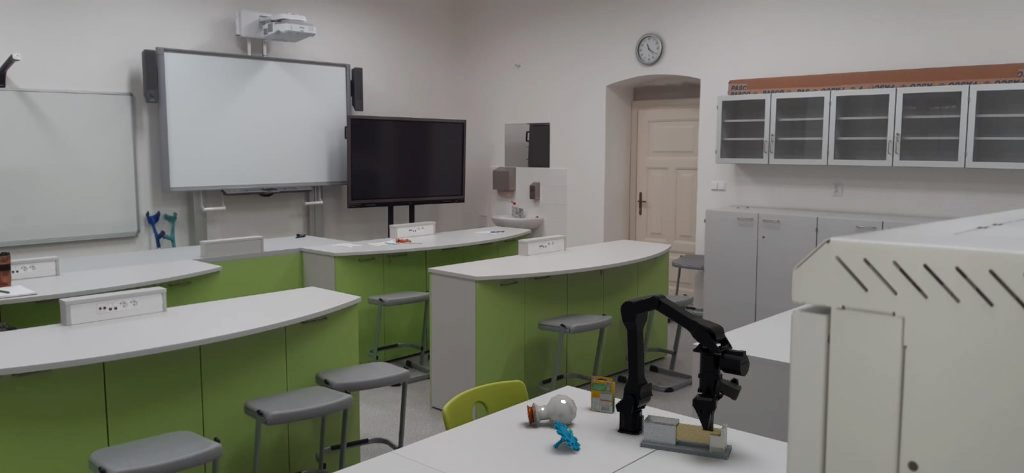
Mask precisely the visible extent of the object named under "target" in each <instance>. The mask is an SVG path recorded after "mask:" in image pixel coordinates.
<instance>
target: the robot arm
mask: <svg viewBox="0 0 1024 473" xmlns="http://www.w3.org/2000/svg"><path fill="white" fill-rule="evenodd" d="M652 311H657V312H658V313H660V314H662V316H664V317H666V318H668V319H669V320H671V321H673V323H675V324H677V325H678V326H680V327H682V328H683V329H685V330H686V331H688V332H689V334H690V335H691V336H692V338H693V339H694V340H695V341H696V342H697V343H698V344H697V345H696V347H695V348H693V349H692V352H693V353H698V354H699V369H698V370H699V371H698V373H697V378H698V387H697V389H696V391H697V394H695V396H693V398H692V402H691V403H692V404H691V405H692V407H693V409H694V411H695V412H696V415H697V418H698V420H699V423H700V426H702V427H703V429H704V430H708V426H709V421H710V417H711V413H712V412H713V411H714V414H715V412H716V410H717V408H718V403H719V401H720V400H721V399H723V397H724V396H725V397H728V398H730V400H732V401H737V399H738V397H739V395H740V393H741V391H742V388H743V387H742V385H740V381H739V378H736V377H732V378H731V379H728V378H727V379H725V378H724V377H723V376H724V374H729V375H733V376H734V375H735V376H739V377H746V376H747V375H748V373H749V370H750V365H751V364H750V362H751V361H750V359H749V356H748V355H747V351H746V350H743V349H739V350H738V349H733V345H732V344H731V342H730V341H729V339H728V337H727V335H726V333H725V330H724V329H725V328H724V327H723V326H722V325H721V324H718V323H716V322H714V321H711V320H709V319H704V318H700V317H699V316H696V315H694V314H693V313H692V312H690V311H688V310H687V309H685V308H683V307H682V306H680V305H679V304H677V303H675V302H674V301H672V300H671V299H669V298H667V296H666V295H664V294H655V295H652V296H650V297H648V298H644V299H643V298H641V297H640V298H634V299H629V300H626V301H624V302H623V303H622V304H621V305H620V317H621V322H622V324H623V326H624V327H625V329H626V343H627V344H626V346H627V347H626V349H627V350H626V351H627V380H626V382H625V384H624V387H623V394H622V398H621V399H620V400H619V401H618V402H616V403H615V411H616V412H617V413H618V414H619V417H618V418H619V420H618V421H619V423H618V429H617V432H618V433H624V434H632V435H640V433H641V432H642V431H644V420H645V416H644V415H643V410H644V409H646V407H647V404H649V403H650V402H651V400H652V397H653V396H654V394H653V390H652V389H653V383H652V382H648V381H647V379H646V375H645V373H646V372H645V346H644V328H645V326H646V323H647V321H648V316H649V312H652ZM723 373H724V374H723Z"/></svg>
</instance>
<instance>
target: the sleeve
mask: <svg viewBox="0 0 1024 473" xmlns="http://www.w3.org/2000/svg"><path fill="white" fill-rule="evenodd" d="M680 420H681V419H680V418H674V417H666V416H659V415H652V414H647V416H646V417H645V418H644V429H643V439H644V442H650V443H657V444H664V445H670V446H676V444H677V442H678V441H679V440H678V439H676V426H677V424H678V423H680Z"/></svg>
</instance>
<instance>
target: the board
mask: <svg viewBox="0 0 1024 473" xmlns="http://www.w3.org/2000/svg"><path fill="white" fill-rule="evenodd" d="M639 444H640V445H639V448H645V449H653V450H660V451H667V452H673V453H681V454H687V455H692V456H693V455H694V456H699V457H700V456H701V457H707V458H714V459H721V460H726V461H727V460H729V457H730V454H731V452H732V449H733V446H732V445H731V444H727V447H726V449H725V452H724V453H717V452H710V444H706V443H699V442H692V441H685V440H679V441H678V442H677V444H676V446H670V445H664V444H657V443H650V442H644V438H643V439H642V441H641V442H640V443H639Z"/></svg>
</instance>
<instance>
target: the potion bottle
mask: <svg viewBox="0 0 1024 473" xmlns="http://www.w3.org/2000/svg"><path fill="white" fill-rule="evenodd" d="M526 408H527V409H526V410H527V418H528V423H529V426H531V425H532V424H533V423H534V424H535V425H536V426H538V425H539V423H540V422H541V421H547V420H549V421H550V422H551V423H552V424H554V423H555V422H556V421H558V422H559V421H560V422H562V424H563V425H562V426H564V425H566V426H568V425H569V424H572V423H573V422H574V420H575V419H576V417H577V412H578V408H577V405H576V402H575V400H574V399H572V398H571V397H570V396H569V395H565V394H560V393H559V394H555V396H552V397H551V398H550V399H549V401H548V403H546V405H545V404H544V405H539V404H538V403H537V404H536V403H535V402H532V405H531V406H530V405H528V404H526ZM537 424H538V425H537Z"/></svg>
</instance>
